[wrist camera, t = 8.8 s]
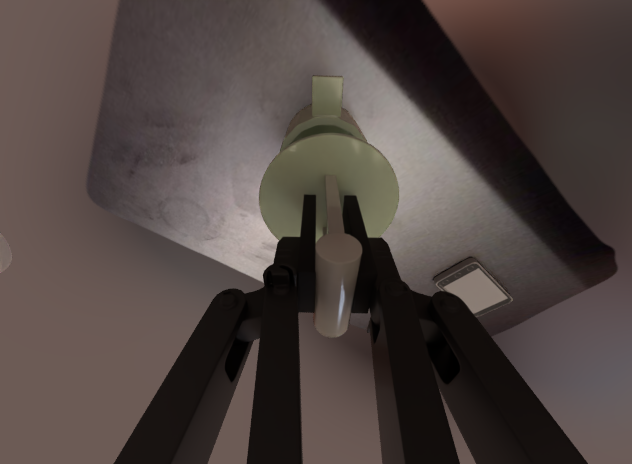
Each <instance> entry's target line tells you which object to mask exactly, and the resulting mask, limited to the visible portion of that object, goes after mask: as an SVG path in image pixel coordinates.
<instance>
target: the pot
mask: <svg viewBox="0 0 632 464" xmlns="http://www.w3.org/2000/svg"><path fill="white" fill-rule="evenodd" d="M343 79H344V78H343V76H321V75H313V76H312V104H310V105H308V106H306V107H304V108H303V109H301V110H300V111H299V112H298V113H297V114H296V115H295V116H294V118H293V119H292V120H291V122H290V124H289V127H288V130H287V132H286V135H285V138H284V141H283V143H282V146H281V149H280V152H281V151H282V150H283V149H284V148H286V147H287V146H289V145H290V144H292V143H294V142H296V141H298V140H300V139H302V138H305V137H308V136H311V135H316V134H321V133H339V134H346V135H350V136H354V137H357V138H359V139H362V140H364V141H366V142H367V140H366V138H365V137H364V135H363V133H362V131H361V130H360V128H359V126H358V125H357V123H356V121H355V120H354V119H353V117H352V116H351V115H350V114H349V112H348V111H347V110H346V109H344V108H342V107H341V105H342V92H343ZM280 152H279V153H280Z"/></svg>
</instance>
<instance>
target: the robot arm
mask: <svg viewBox="0 0 632 464" xmlns="http://www.w3.org/2000/svg"><path fill="white" fill-rule="evenodd" d="M342 217H343V224H344V231H345V234H348V235H351V236H353V237H354V238H356V239H357V240H358V241H359V242H360V244H361V246H362V257H361V262H360V268H359V273H358V278H357V284H356V289H355V295H354V300H353V305H352V311H351V313H368V310H369V308H370V313H371V317H370V321H369V324H368V328H367V333H369V332H370V335H371V345H372V357H373V367H374V378H375V389H376V399H377V410H378V420H379V431H380V442H381V452H382V463H383V464H460V462H459V459H458V456H457V452H456V448H455V445H454V441H453V438H452V434H451V430H450V427H449V424H448V420H447V416H446V413H445V409H444V406H443V402H442V399H441V395H440V392H439V389H440V391H441V393H442V395H443V397H444V399H445V401H446V403H447V405H448V407H449V409H450V412H451V413H452V415H453V417H454V420H455V422H456V423H457V426H458V428H459V430H460V432H461V434H462V436H463V438H464V440H465V442H466V444H467V446H468V448H469V450H470V452H471V454H472V456H473V458H474V460H475V462H476V464H588V463H587V462H586V460H585V459H584V458H583V456H582V455H581V454H580V453H579V451H578V450H577V449H576V447H575V446H574V445H573V444H572V442H571V441H570V440H569V438H568V437H567V436H566V434H565V433H564V432H563V430H562V429H561V428H560V426H559V425H558V424H557V423H556V421H555V420H554V419H553V417H552V416H551V415H550V413H549V412H548V411H547V410H546V408H545V407H544V406H543V404H542V403H541V402H540V400H539V399H538V398H537V396H536V395H535V394H534V392H533V391H532V390H531V389H530V387H529V386H528V385H527V383H526V382H525V381H524V379H523V378H522V377H521V376H520V374H519V373H518V372H517V370H516V369H515V368H514V366H513V365H512V364H511V362H510V361H509V360H508V359H507V357H506V356H505V355H504V353H503V352H502V351H501V349H500V348H499V347H498V345H497V344H496V343H495V342H494V340H493V339H492V338H491V336H490V335H489V334H488V332H487V331H486V330H485V328H484V327H483V326H482V325H481V323H480V322H479V321H478V319H477V318H476V317H475V315H474V314H473V313H472V311H471V310H470V309H469V308H468V306H467V305H466V304H465V302H464V301H463V300H462V299H461V298H459V297H458V296H456V295H455V294H452V293H449V292H445V291H439V292H436V293H435V294H434V295H433V296H432V297H430V296H427V295H423V294H420V293H417V292H414V291H412V290H410V288H409V286H408V285H407V284H406V283H405V282H403V281H402V280H401V278H400V276H399V273H398V270H397V268H396V265H395V262H394V259H393V258H392V254H391V252H390V248H389V246H388V244H387V243H386V242H385V241H384V240H383V238H372V237H368V236H367V232H366V229H365V225H364V221H363V218H362V214H361V210H360V207H359V203H358V200H357V196H356V195H344V203H343V212H342ZM315 245H316V195H307V194H304V200H303V211H302V222H301V232H300V237H284V236H283V237H282V238H281V239H280V241H279V242H278V244H277V249H276V254H275V258H274V263H273V264H272V265H270V266H269V267H268V268H267V269H266V270H265V271H264V273H263V279H264V285H265V286H264V287H263V288H261V289H260V290H257V291H254V292H250V293H246V294H244V293H243V292H242V291H241V290H238V289H228V290H224V291H222V292H221V293H219V294H217V296H216V297H215V298H214V299H213V301H212V302H211V304H210V306H209V307H208V309H207V310H206V312H205V314H204V315H203V317H202V319H201V320H200V322H199V324H198V325H197V327H196V328H195V330H194V332H193V333H192V335H191V337H190V338H189V340H188V342H187V343H186V345H185V347H184V348H183V350H182V352H181V353H180V355H179V357H178V358H177V360H176V362H175V363H174V365H173V366H172V368H171V370H170V371H169V373H168V375H167V376H166V378H165V380H164V382H163V383H162V385H161V386H160V388H159V390H158V391H157V393H156V395H155V396H154V398H153V400H152V401H151V403H150V405H149V406H148V408H147V410H146V411H145V413H144V414H143V416H142V418H141V419H140V421H139V423H138V424H137V426H136V428H135V429H134V431H133V433H132V434H131V436H130V438H129V439H128V441H127V443H126V444H125V446H124V448H123V449H122V451H121V453H120V454H119V456H118V457H117V459H116V461H115V462H114V464H207V463H208V461H209V458H210V455H211V453H212V450H213V447H214V445H215V442H216V439H217V437H218V434H219V431H220V429H221V426H222V423H223V421H224V418H225V416H226V413H227V410H228V407H229V405H230V402H231V399H232V397H233V394H234V391H235V389H236V386H237V383H238V381H239V378H240V376H241V373H242V370H243V368H244V365H245V362H246V359H247V357H248V354H249V352H250V349H251V346H252V344H253V341H254V340H255V339H259V338H260V342H259V353H258V361H257V371H256V381H255V390H254V400H253V409H252V418H251V428H250V437H249V447H248V456H247V464H303V453H302V422H301V389H300V356H299V326H298V325H299V324H298V313H299V312H311V313H312V312H313V313H315V278H316V271H315ZM438 387H439V388H438Z"/></svg>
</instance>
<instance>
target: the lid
mask: <svg viewBox="0 0 632 464" xmlns="http://www.w3.org/2000/svg"><path fill="white" fill-rule="evenodd" d="M304 194H307V195H316V245H315V271H316V278H315V313H314V325H315V328H316V329H317V331H318V332H320V333H321V334H322V335H324V336H326V337H338V336H341V335H342V334H344V333H345V332H346V331H347V329H348V326H349V322H350V316H351V311H352V305H353V300H354V295H355V289H356V284H357V278H358V273H359V268H360V262H361V257H362V246H361V244H360V242H359V241H358V240H357V239H356V238H354V237H353V236H351V235H348V234H345V231H344V224H343V217H342V212H343V203H344V195H356V196H357V200H358V203H359V207H360V210H361V214H362V218H363V221H364V225H365V229H366V232H367V236H368V237H372V238H379V237H380V236H381V235H382V234H383V233H384V232H385V231H386V230H387V228H388V227H389V225H390V224H391V222H392V220H393V218H394V216H395V213H396V210H397V207H398V202H399V187H398V182H397V178H396V175H395V173H394V171H393V168H392V167H391V165H390V164H389V162H388V161H387V159H386V158H385V157H384V156H383V154H382V153H381V152H380V151H379V150H377V149H376V148H375V147H374V146H372V145H371V144H369V143H367V142H366V141H364V140H362V139H359V138H357V137H354V136H350V135H346V134H339V133H321V134H316V135H311V136H308V137H305V138H302V139H300V140H298V141H296V142H294V143H292V144H290V145H289V146H287V147H286V148H284V149H283V150H282V151H281V152H280V153H279V154H278V155H277V156H276V157H275V158H274V159H273V160H272V162H271V163H270V165H269V166H268V168H267V170H266V172H265V174H264V176H263V179H262V182H261V186H260V191H259V205H260V210H261V214H262V216H263V219H264V221H265V223H266V225H267V227H268V228H269V230H270V231H271V232H272V234H273V235H274V236H275V237H276V238H277V239H278V240H279V241H280V239H281V238H282V237H283V236H284V237H300V232H301V222H302V211H303V200H304Z"/></svg>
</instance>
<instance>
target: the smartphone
mask: <svg viewBox="0 0 632 464" xmlns="http://www.w3.org/2000/svg"><path fill="white" fill-rule="evenodd" d="M434 282H435V284H436V286H437V287H439V288H440V289H441V290H442V291H445V292H449V293H452V294H455V295H456V296H458V297H459V298H461V299H462V300H463V301H464V302H465V304H466V305H467V306H468V308H469V309H470V310H471V311H472V313H473V314H474V315H475V317H478V316H481V315H483V314H485V313H487V312H490V311H492V310H494V309H496V308H499V307H501V306H503V305H505V304H508V303H510V302H511V301H512V300H513V299H512V297H511V296H510V295H509V294H508V293H507V292H506V291H505V290H504V289H503V287H502V286H501V285H500V284H499V283H498V282H497V281H496V280H495V279H494V278H493V277H492V276H491V275H490V274H489V273H488V272H487V271H486V270H485V269H484V268H483V267H482V266H481V265H480V264H479V263H478V262H477V261H476V259H475V258H468V259H466V260H464V261H463V262H461V263H459V264H457V265H455V266H454V267H452V268H450V269H448V270H447V271H445V272H443V273H441V274H440V275H438V276H436V277H435V278H434Z"/></svg>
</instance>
